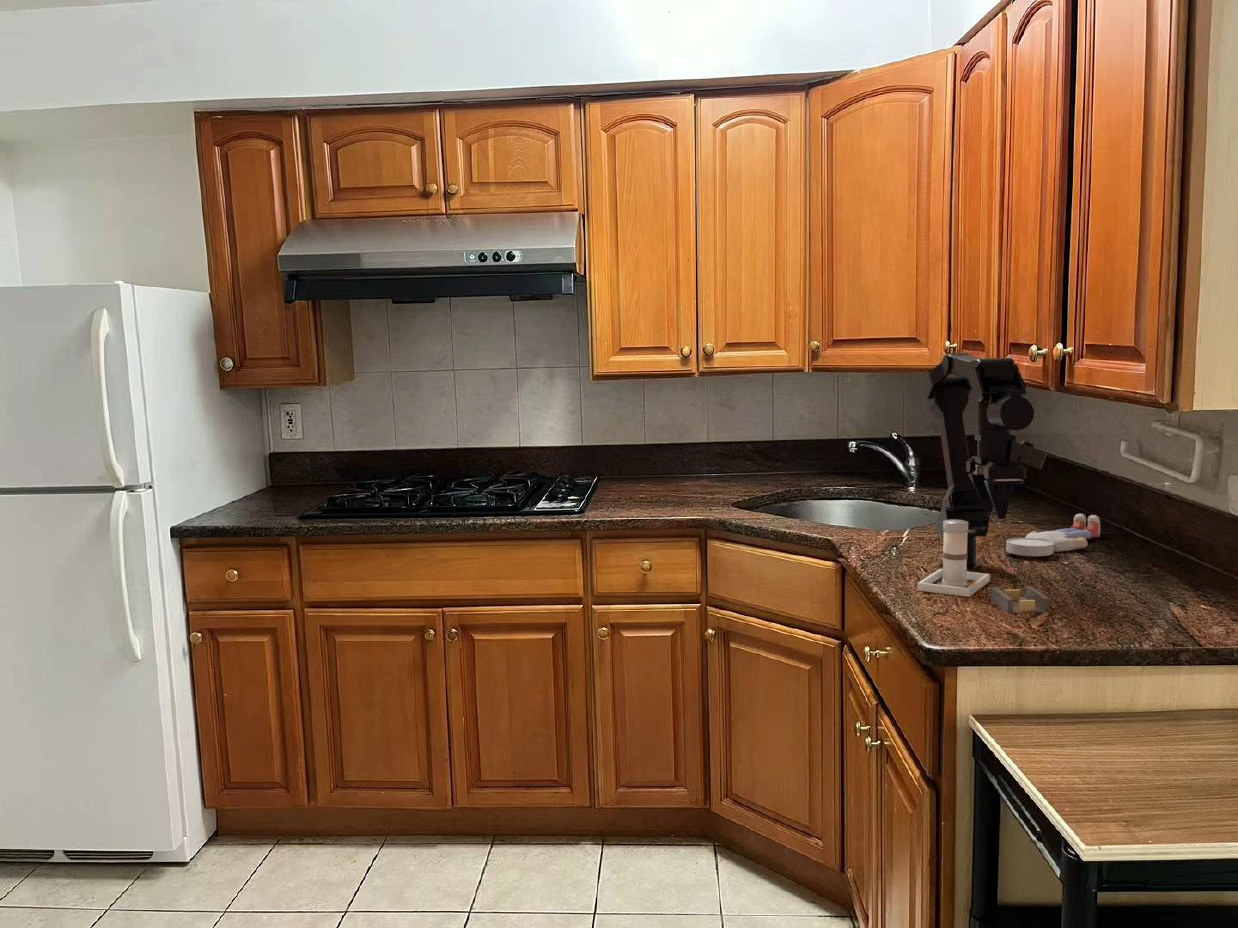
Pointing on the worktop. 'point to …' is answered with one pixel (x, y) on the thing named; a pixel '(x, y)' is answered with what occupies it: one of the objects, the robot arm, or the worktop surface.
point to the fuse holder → (1020, 600)
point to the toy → (1056, 538)
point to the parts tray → (960, 591)
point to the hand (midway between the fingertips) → (995, 515)
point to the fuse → (955, 553)
